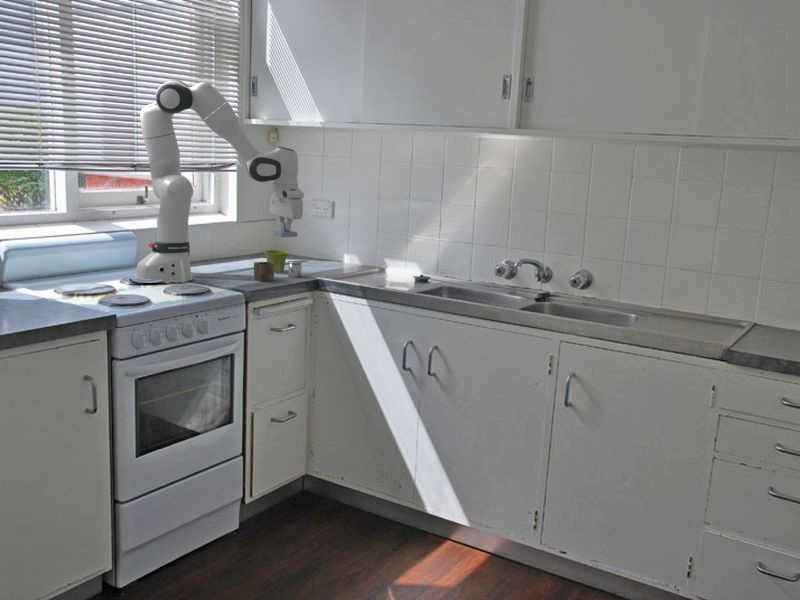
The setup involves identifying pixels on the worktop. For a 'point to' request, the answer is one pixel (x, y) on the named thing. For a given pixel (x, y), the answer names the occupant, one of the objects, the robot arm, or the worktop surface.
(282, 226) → the lid
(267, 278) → the canister
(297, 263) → the tin
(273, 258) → the plant pot
